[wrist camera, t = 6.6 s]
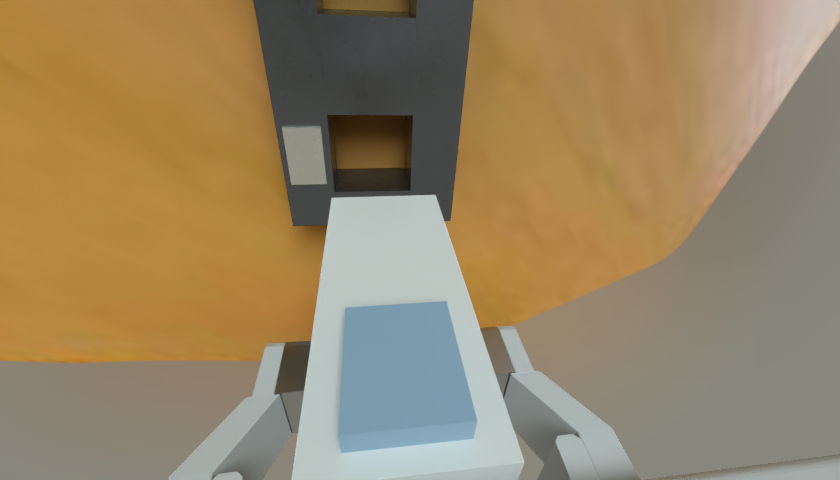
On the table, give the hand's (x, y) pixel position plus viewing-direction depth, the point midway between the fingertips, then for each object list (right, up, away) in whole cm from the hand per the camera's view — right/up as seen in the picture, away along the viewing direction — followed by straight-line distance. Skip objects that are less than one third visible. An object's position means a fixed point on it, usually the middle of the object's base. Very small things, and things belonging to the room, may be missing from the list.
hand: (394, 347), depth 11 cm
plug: (-1, +3, +5) cm, 6 cm away
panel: (-3, +16, +15) cm, 22 cm away
